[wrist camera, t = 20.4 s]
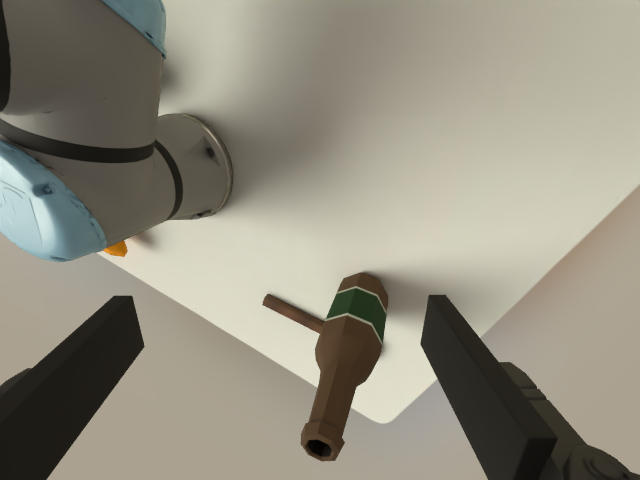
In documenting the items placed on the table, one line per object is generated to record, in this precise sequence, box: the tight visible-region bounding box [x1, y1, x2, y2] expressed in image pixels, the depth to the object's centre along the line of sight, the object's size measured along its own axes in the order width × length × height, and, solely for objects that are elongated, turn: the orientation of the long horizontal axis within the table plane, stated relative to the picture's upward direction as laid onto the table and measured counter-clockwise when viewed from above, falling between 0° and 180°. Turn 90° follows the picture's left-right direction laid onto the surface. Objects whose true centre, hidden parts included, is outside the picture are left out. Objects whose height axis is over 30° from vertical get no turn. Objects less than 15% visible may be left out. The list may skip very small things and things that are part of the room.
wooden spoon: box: [262, 294, 324, 334], centre depth 50 cm, size 20×6×1 cm, turn 70°
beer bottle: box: [301, 272, 388, 461], centre depth 35 cm, size 8×8×24 cm
